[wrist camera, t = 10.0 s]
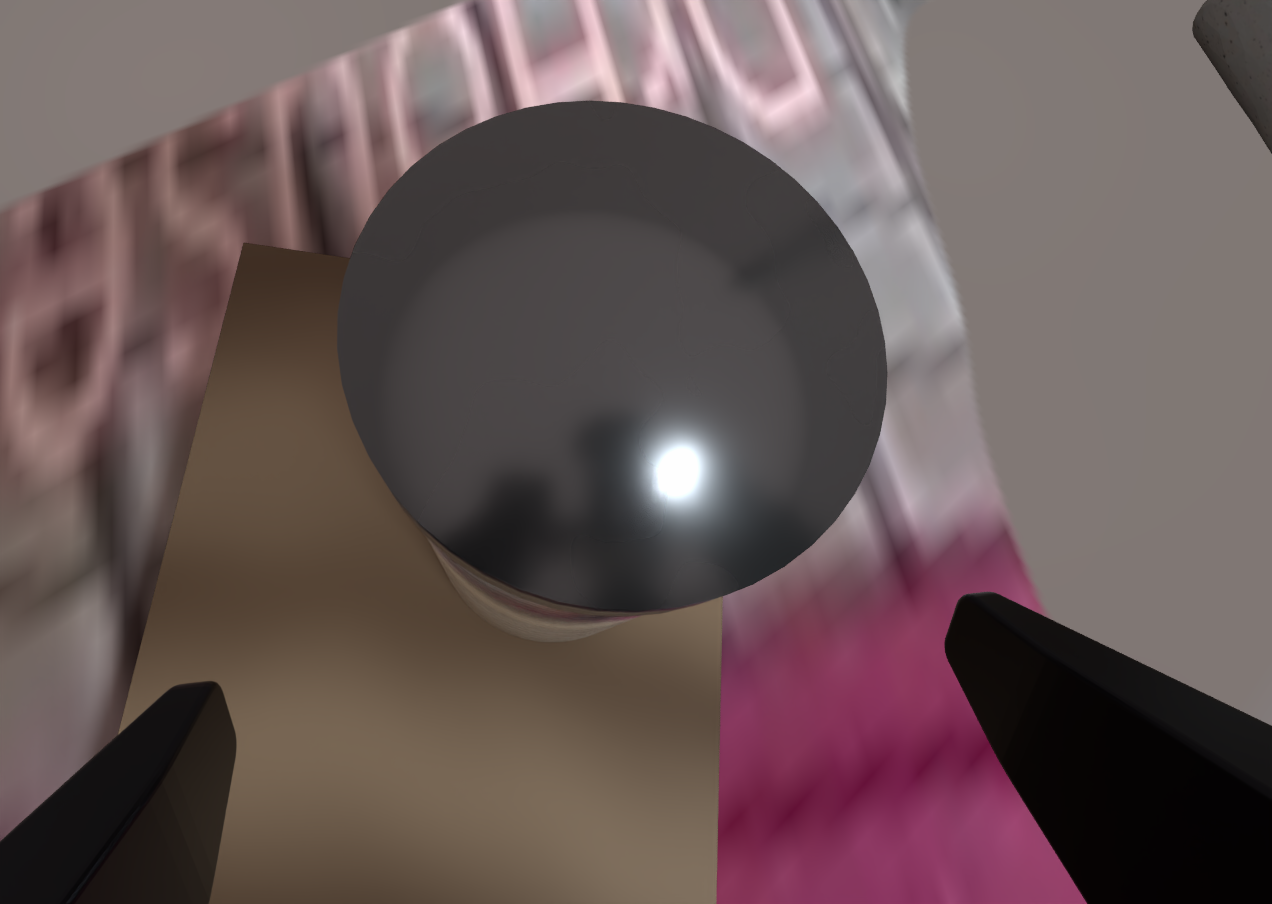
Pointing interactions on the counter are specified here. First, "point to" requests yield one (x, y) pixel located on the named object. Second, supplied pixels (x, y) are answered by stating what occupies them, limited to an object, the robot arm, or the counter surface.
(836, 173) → the counter surface
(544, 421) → the metal tin
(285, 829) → the tan wooden panel
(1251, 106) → the ceramic mug
